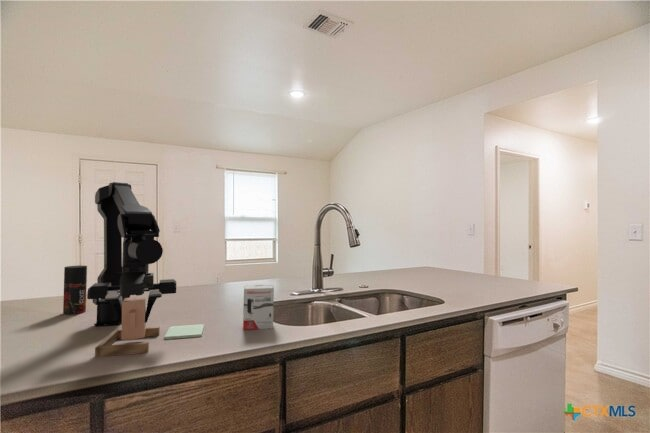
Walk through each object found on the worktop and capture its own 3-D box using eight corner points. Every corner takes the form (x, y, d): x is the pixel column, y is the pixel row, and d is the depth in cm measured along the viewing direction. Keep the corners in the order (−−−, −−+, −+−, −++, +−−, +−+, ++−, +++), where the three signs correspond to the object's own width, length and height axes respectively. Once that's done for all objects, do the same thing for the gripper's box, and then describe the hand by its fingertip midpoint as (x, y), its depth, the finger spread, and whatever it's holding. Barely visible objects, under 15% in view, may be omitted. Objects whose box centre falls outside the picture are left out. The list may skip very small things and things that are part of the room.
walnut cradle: (94, 356, 74) (95, 347, 74) (114, 337, 86) (115, 329, 86) (147, 352, 76) (147, 343, 76) (159, 334, 89) (159, 326, 89)
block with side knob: (123, 334, 83) (124, 298, 84) (145, 331, 85) (146, 296, 86) (119, 344, 76) (120, 305, 77) (143, 341, 78) (144, 303, 79)
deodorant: (71, 310, 112) (72, 265, 112) (89, 310, 112) (91, 265, 112) (58, 315, 106) (59, 267, 106) (78, 314, 106) (79, 267, 107)
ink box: (242, 330, 93) (243, 287, 93) (243, 325, 98) (243, 284, 98) (273, 328, 95) (274, 287, 95) (272, 323, 100) (273, 283, 100)
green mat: (164, 339, 85) (164, 336, 85) (170, 328, 94) (170, 326, 94) (201, 336, 87) (201, 334, 88) (204, 326, 96) (204, 324, 96)
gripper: (82, 265, 71) (80, 338, 71) (177, 262, 79) (175, 328, 79) (93, 260, 82) (91, 324, 81) (176, 257, 89) (175, 316, 89)
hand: (134, 323), depth 82 cm, fingers closed on block with side knob, 5 cm apart
